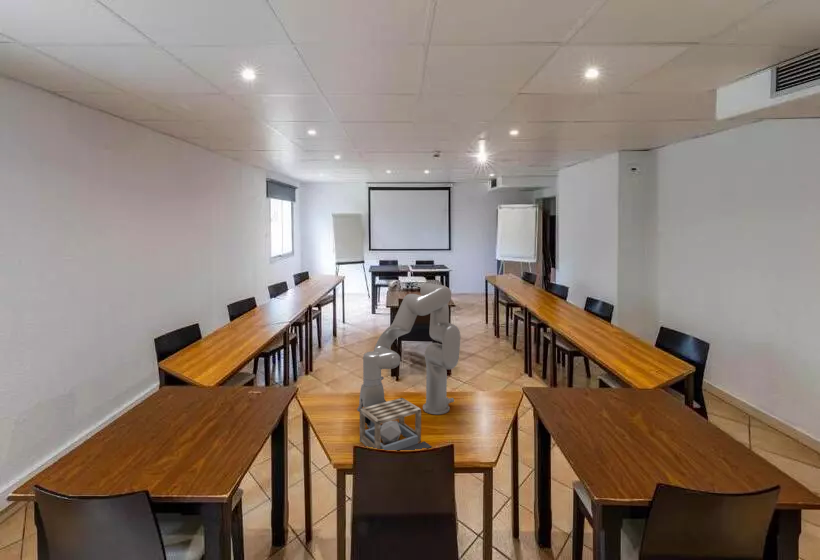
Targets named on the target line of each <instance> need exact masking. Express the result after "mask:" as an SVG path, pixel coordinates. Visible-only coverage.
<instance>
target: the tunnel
mask: <svg viewBox="0 0 820 560" xmlns="http://www.w3.org/2000/svg"><path fill="white" fill-rule="evenodd" d="M381 410H382V411H381ZM413 415H414V416H415V418H414V420H415V422H414V423H415V425H414V426H415V427H414V428H415V429H413V428H412V427H410V426H409V425H408V424H406V423H405V417H409V416H413ZM365 416H366V417H367V418H368V419H370V420H371V421H372V422H373V423H375V436H374V437H375V444H374V443H372V442H371V441H370V440H369V439H368V438H367V437H365V430H366V423H365ZM396 420H398V422H399V423H400V424H402V425H403V426H404V427H406V428H407V429H409V430H410V431H411V432H413V433H414V434H416V435H417V436H418V443H421V441H422V409H421V408H420V407H419V406H417V405H415V404H413V403H412V402H410V401H408V400H407V399H405V398H403V397H400V398H394V399H392V400H387V401H386V402H384V403H380V404H376V405H372V406H369V407H365V408H364V407H363V408H361V409H360V412H359V442H360V443H361V442H362V443H363V444H364V445H365V446H368V447H373V448H377V449H381V444H380V442H381V436H380V426H381V425H382V424H383V423H385V422H389V421H396ZM362 443H361V444H362ZM363 444H362V445H363ZM364 445H363V446H364ZM365 446H364V447H365Z"/></svg>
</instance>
